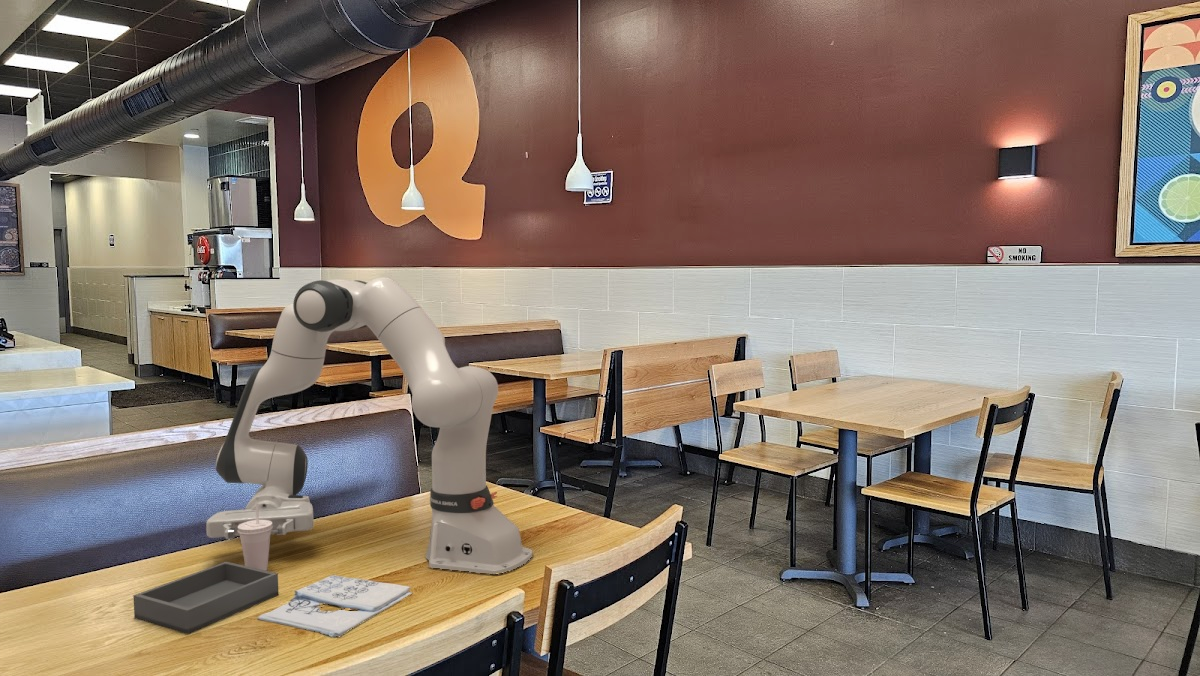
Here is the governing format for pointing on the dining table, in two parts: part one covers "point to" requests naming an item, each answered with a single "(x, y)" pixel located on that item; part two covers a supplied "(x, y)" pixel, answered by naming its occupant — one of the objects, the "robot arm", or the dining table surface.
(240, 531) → the smoothie
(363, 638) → the dining table surface
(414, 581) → the dining table surface
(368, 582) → the folded bicycle print cloth
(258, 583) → the tray
